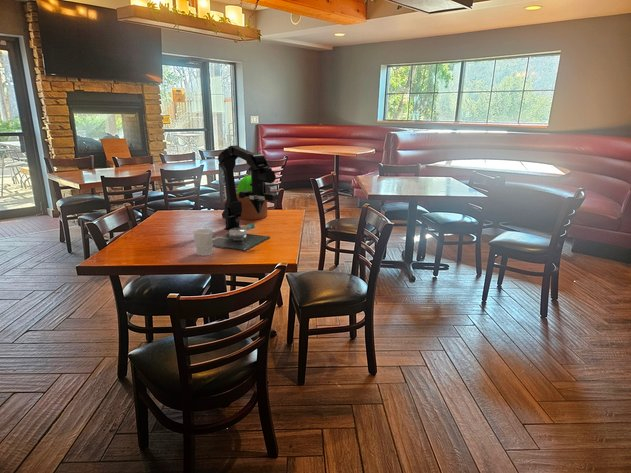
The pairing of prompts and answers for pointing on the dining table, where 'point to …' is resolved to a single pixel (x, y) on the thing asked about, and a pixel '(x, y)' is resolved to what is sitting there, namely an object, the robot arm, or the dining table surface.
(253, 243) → the lock base
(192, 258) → the dining table surface
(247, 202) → the potted cactus
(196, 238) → the white cup
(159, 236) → the dining table surface
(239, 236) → the teal-tipped lever
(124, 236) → the dining table surface
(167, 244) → the dining table surface
